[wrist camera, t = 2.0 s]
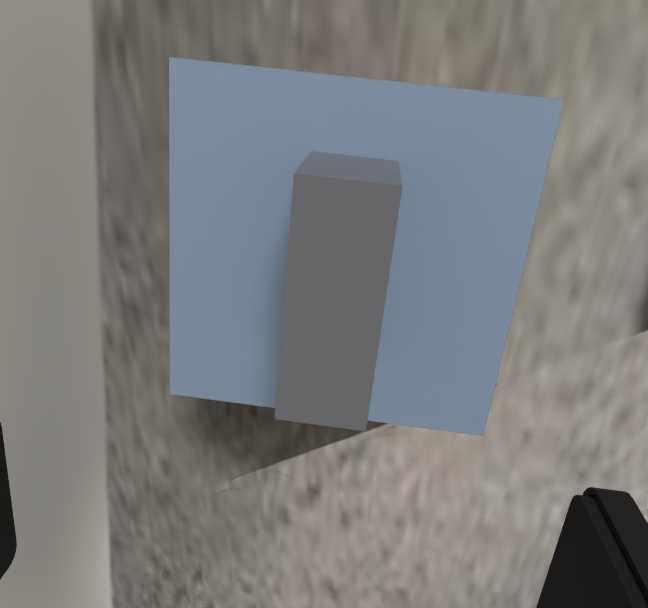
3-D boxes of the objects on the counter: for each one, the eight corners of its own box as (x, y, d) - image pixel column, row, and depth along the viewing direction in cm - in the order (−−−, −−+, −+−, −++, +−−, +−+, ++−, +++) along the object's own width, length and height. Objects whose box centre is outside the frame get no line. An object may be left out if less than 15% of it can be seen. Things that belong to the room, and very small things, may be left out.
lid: (545, 96, 21) (614, 110, 15) (474, 405, 26) (504, 513, 20) (189, 57, 22) (112, 56, 16) (186, 367, 27) (127, 460, 21)
